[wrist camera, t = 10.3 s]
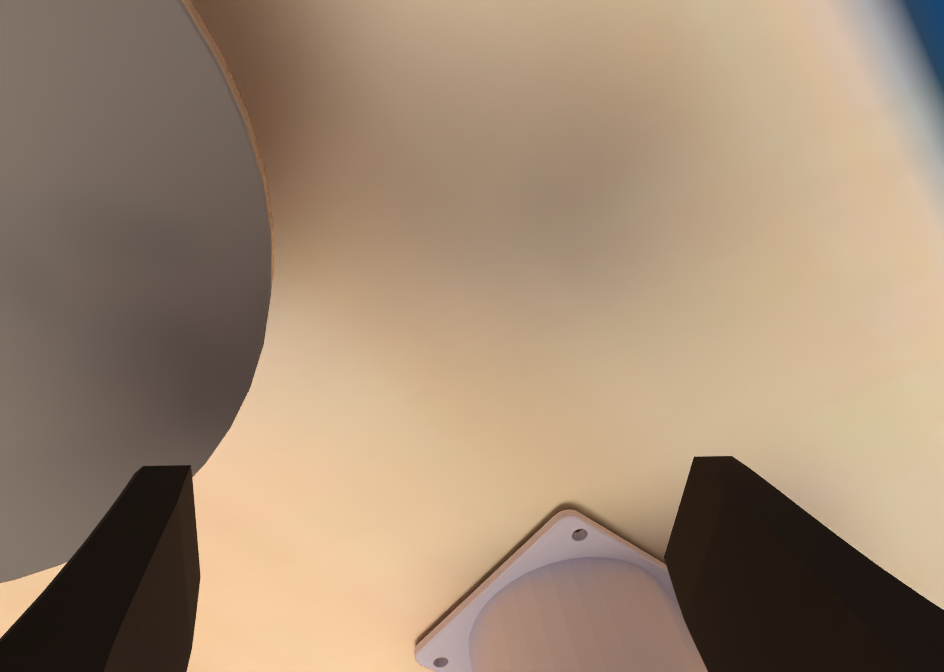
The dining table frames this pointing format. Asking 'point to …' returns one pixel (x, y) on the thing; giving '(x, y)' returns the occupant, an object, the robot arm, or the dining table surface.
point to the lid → (119, 259)
